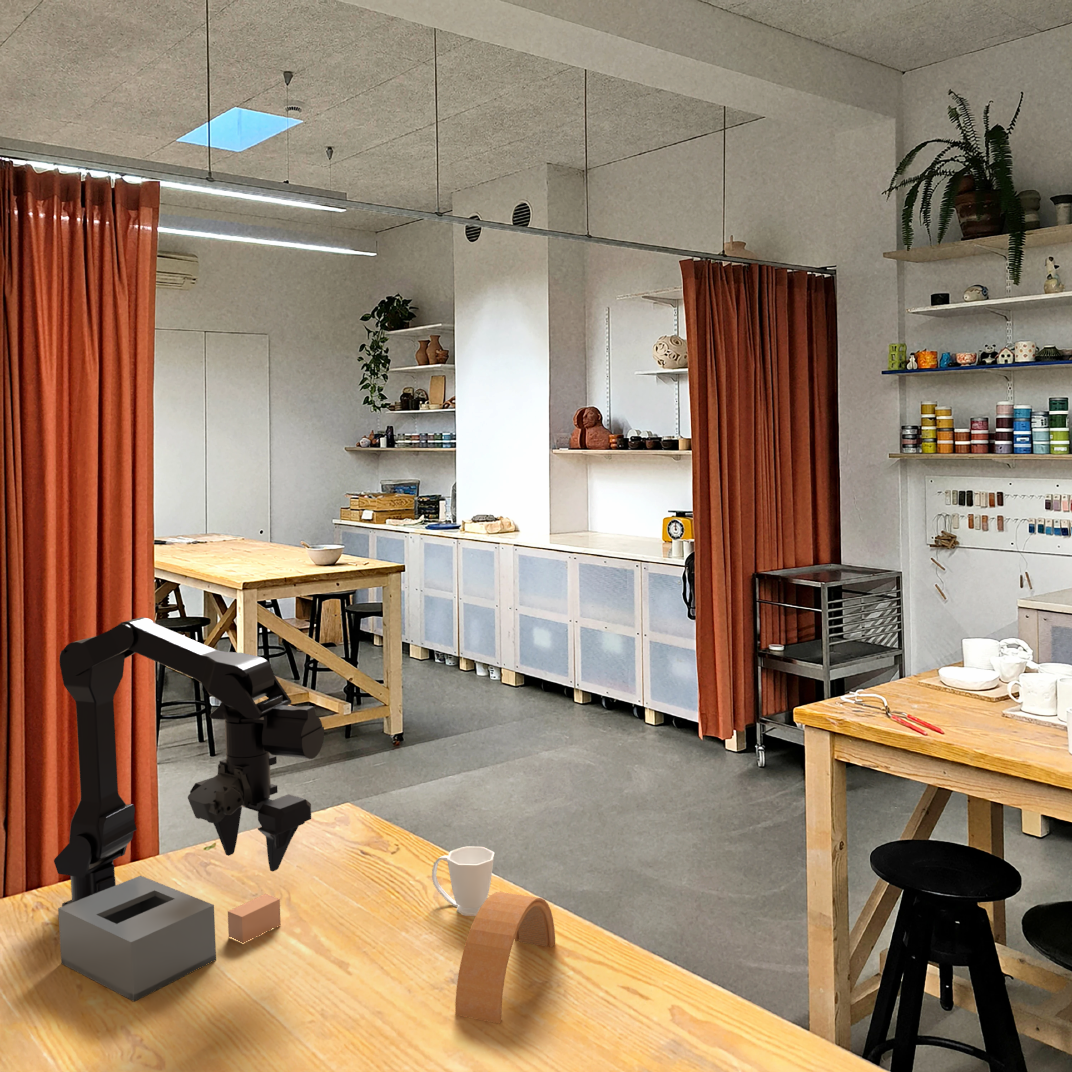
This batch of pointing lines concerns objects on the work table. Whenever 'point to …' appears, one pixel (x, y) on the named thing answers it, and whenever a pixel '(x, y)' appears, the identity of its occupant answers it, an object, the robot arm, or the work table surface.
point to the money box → (137, 936)
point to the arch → (498, 950)
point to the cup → (467, 878)
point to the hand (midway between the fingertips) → (251, 862)
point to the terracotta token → (254, 918)
